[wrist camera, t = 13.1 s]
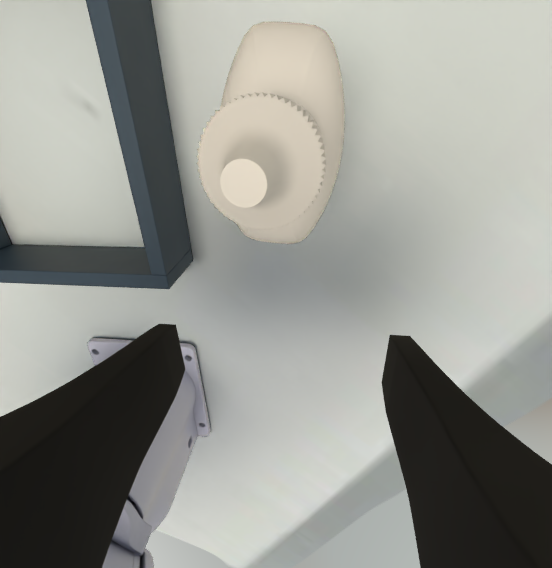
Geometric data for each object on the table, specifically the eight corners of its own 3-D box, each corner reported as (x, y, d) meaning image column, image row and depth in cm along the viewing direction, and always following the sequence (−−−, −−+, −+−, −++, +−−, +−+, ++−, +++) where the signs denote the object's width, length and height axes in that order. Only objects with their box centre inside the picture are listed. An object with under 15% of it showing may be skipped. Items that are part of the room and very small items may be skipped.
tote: (193, 260, 19) (169, 289, 16) (6, 255, 21) (-48, 281, 18) (136, -89, 12) (73, -156, 9) (-140, -58, 14) (-273, -106, 11)
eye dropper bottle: (228, 157, 16) (57, 246, 6) (292, 39, 13) (195, -208, 3) (299, 206, 17) (266, 368, 6) (373, 104, 14) (520, 91, 4)
